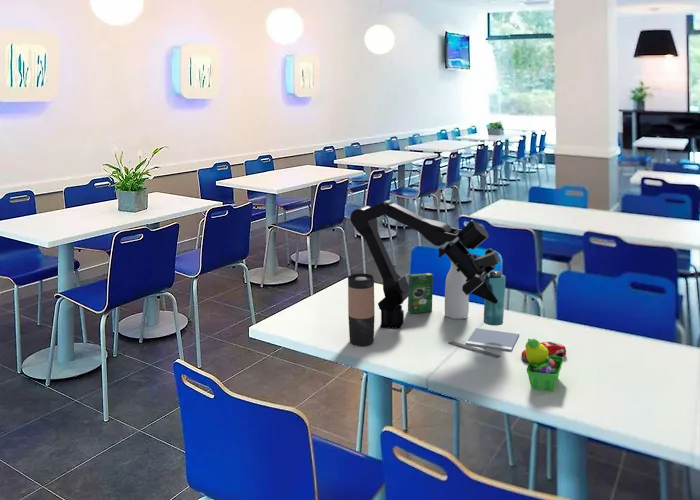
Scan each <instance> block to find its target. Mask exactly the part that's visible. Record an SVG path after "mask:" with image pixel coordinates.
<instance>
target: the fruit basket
mask: <svg viewBox="0 0 700 500" xmlns="http://www.w3.org/2000/svg"><path fill="white" fill-rule="evenodd" d="M541 343H542V342H540V341H539V340H537V339H536V338H528V339H527V342H526V343H525V350H526V357H527V359H528V361H529V362H528V365H527V367H526V374H527V375H528V380H529V384H530V388H531V389H537V390H541V391H549V392H553V391H554V388H555V385H556V383H557V379H558V378H559V376H560V372H561V370H562V366H563V362H564V360H565V359H564V357H558V356H551V355H548V354H549V351H548V349H547V348H546V347H545V346H544V345H542V344H541Z"/></svg>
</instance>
